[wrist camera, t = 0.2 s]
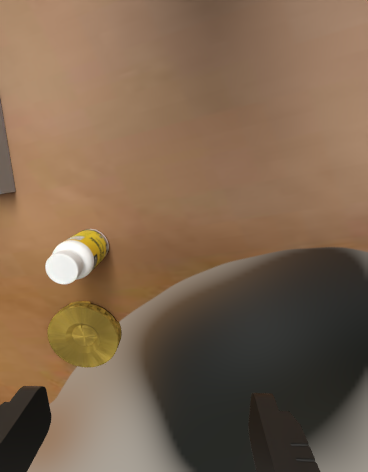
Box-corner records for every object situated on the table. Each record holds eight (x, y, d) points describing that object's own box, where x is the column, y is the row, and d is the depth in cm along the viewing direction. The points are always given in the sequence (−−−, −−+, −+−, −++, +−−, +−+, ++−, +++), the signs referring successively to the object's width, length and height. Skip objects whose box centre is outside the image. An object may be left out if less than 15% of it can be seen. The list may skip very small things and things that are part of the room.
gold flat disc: (78, 287, 41) (72, 293, 39) (135, 327, 43) (132, 335, 41) (42, 332, 44) (34, 340, 42) (96, 368, 46) (92, 378, 44)
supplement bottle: (113, 258, 39) (88, 287, 30) (80, 262, 40) (45, 292, 30) (105, 226, 38) (77, 246, 28) (72, 230, 38) (32, 251, 29)
